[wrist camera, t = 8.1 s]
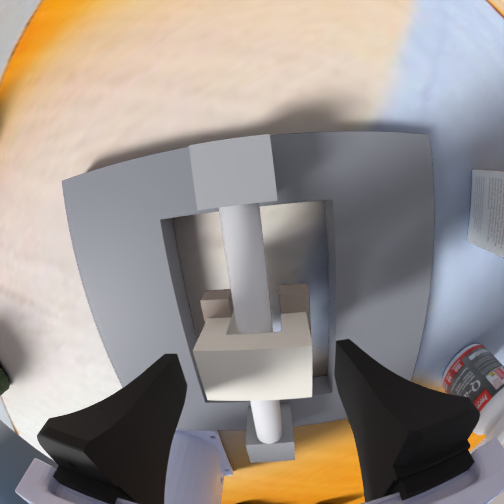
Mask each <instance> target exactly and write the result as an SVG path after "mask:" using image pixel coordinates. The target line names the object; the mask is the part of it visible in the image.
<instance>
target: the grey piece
mask: <svg viewBox="0 0 504 504" xmlns="http://www.w3.org/2000/svg"><path fill="white" fill-rule="evenodd" d="M62 187H63V195H64V202H65V208H66V214H67V220H68V225H69V231H70V236H71V240H72V245H73V249H74V254H75V258H76V262H77V266H78V270H79V273H80V277H81V281H82V284H83V287H84V291H85V294H86V297H87V300H88V304H89V307H90V310H91V313H92V315H93V318H94V321H95V324H96V327H97V329H98V332H99V335H100V337H101V340H102V342H103V345H104V347H105V350H106V352H107V354H108V357H109V359H110V361H111V364H112V366H113V368H114V370H115V373H116V375H117V377H118V379H119V381H120V383H121V385H122V387H125V386H126V385H127V384H129V383H130V382H131V381H133V380H134V379H135V378H137V377H138V376H139V375H140V374H142V373H143V372H144V371H145V370H146V369H147V368H149V367H150V366H151V365H152V364H153V363H154V362H156V361H157V360H158V359H159V358H160V357H161V356H163V355H164V354H177V355H178V358H179V361H180V364H181V367H182V371H183V374H184V377H185V379H186V382H187V385H188V386H187V393H186V399H185V404H184V407H183V410H182V413H181V416H180V419H179V422H178V425H177V429H192V430H246V449H247V452H248V456H249V460H250V463H257V462H276V461H288V460H295V449H294V434H293V427H296V426H304V425H311V424H318V423H324V422H330V421H336V420H341V419H347V418H348V417H347V415H346V412H345V409H344V407H343V404H342V401H341V399H340V396H339V393H338V389H337V385H336V381H335V376H334V369H335V351H336V341H338V340H344V339H350V340H351V341H352V342H354V343H355V344H356V345H357V346H358V347H359V348H361V349H362V350H363V351H364V352H366V353H367V354H368V355H369V356H371V357H372V358H373V359H374V360H376V361H377V362H378V363H380V364H381V365H383V366H384V367H386V368H387V369H389V370H390V371H392V372H394V373H395V374H397V375H399V376H401V377H403V378H405V379H407V380H409V381H411V379H412V376H413V372H414V368H415V365H416V361H417V357H418V353H419V348H420V344H421V339H422V334H423V329H424V324H425V318H426V313H427V306H428V300H429V292H430V284H431V275H432V264H433V250H434V225H435V203H434V178H433V164H432V153H431V145H430V137H429V135H427V134H415V133H400V132H375V131H334V132H308V133H292V134H280V135H270V134H264V135H255V136H246V137H238V138H231V139H224V140H217V141H211V142H205V143H199V144H194V145H189V147H186V148H180V149H175V150H171V151H166V152H161V153H157V154H152V155H148V156H144V157H140V158H136V159H132V160H128V161H124V162H120V163H117V164H113V165H110V166H106V167H103V168H100V169H96V170H93V171H90V172H87V173H83V174H80V175H77V176H74V177H71V178H69V179H66V180H63V181H62ZM320 200H324V204H325V217H326V233H327V253H328V284H329V340H328V370H327V375H326V376H319V377H312V397H308V398H296V399H282V400H260V401H216V400H207V397H206V394H205V391H204V387H203V384H202V381H201V378H200V374H199V371H198V368H197V364H196V361H195V357H194V354H193V349H194V347H195V344H196V342H197V337H196V333H195V329H194V325H193V321H192V316H191V312H190V308H189V303H188V299H187V294H186V290H185V285H184V280H183V275H182V270H181V265H180V260H179V255H178V249H177V244H176V238H175V233H174V227H173V221H172V218H174V217H180V216H187V215H194V214H202V213H209V212H217V211H219V213H220V220H221V228H222V235H223V242H224V248H225V255H226V262H227V269H228V275H229V282H230V288H231V294H232V300H233V307H234V313H235V319H236V325H237V331H238V334H255V333H270V332H273V328H272V318H271V309H270V299H269V289H268V280H267V271H266V261H265V252H264V243H263V234H262V225H261V217H260V208H259V206H267V205H277V204H287V203H297V202H308V201H320Z"/></svg>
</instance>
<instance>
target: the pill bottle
mask: <svg viewBox="0 0 504 504" xmlns="http://www.w3.org/2000/svg"><path fill="white" fill-rule="evenodd" d="M442 385H443V388H444V390H445V391H446V393H447V394H451V395H457V396H464V397H469V398H470V399H471V401H472V402H473V403H474V405H475V406H476V407H477V409H478V410H479V412H480V418H479V421H478V423H477V425H476V427H475V429H474V430H473V432H474V433H475V434H477V435H482V434H485V436H486V440H485V443H487V442H489V441H490V440H492V439H493V438H496V437H497V439H498V440H499V442H500V443H501V445H502V444H503V443H504V366H503V365H502V364H501V363H500V362H499V361H498V360H497V359H496V358H495V357H494V356H493V355H492V354H491V353H490V352H489V351H488V350H487V349H486V348H485V347H484V346H482V345H481V344H472V345H469V346H467V347H466V348H464V349H463V350H461V351H460V352H459V353H458V354H457V355H456V356H455V357H454V358H453V359H452V361H451V362H450V363H449V365H448V367H447V368H446V370H445V372H444V375H443V378H442Z"/></svg>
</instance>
